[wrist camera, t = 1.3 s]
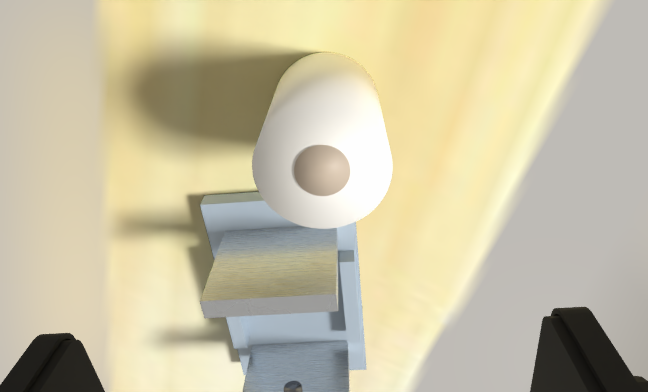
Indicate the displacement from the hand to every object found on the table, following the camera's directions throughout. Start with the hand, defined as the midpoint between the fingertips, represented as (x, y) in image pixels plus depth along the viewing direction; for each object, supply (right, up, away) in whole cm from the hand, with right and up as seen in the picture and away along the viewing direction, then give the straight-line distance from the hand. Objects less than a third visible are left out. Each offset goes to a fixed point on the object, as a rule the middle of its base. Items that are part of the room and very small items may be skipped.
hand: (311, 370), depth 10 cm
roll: (0, +8, +13) cm, 16 cm away
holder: (-2, -2, +19) cm, 19 cm away
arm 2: (-1, -6, +20) cm, 21 cm away
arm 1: (-2, +1, +16) cm, 16 cm away
